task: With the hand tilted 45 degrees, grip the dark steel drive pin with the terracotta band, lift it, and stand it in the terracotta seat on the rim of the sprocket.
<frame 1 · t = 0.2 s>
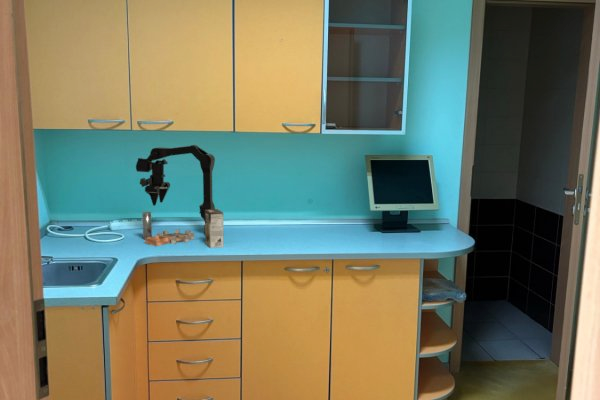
hand: (157, 203, 292), 14 cm above the worktop, tool pointing down, fingers open, 9 cm apart
sprocket: (175, 239, 279), on the worktop
drive pin: (147, 239, 279), on the worktop
coffee box: (214, 245, 268), on the worktop
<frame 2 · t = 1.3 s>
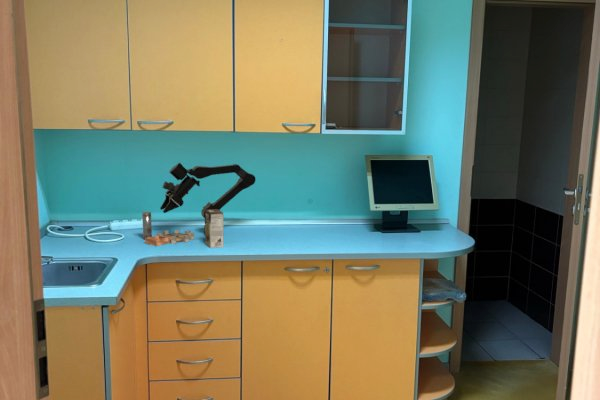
hand: (162, 210, 280), 13 cm above the worktop, tool tilted 45°, fingers open, 9 cm apart
nothing on the worktop moved.
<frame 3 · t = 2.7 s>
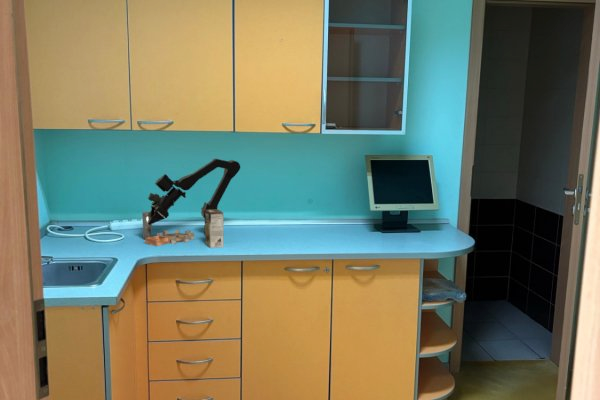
hand: (147, 222, 278), 8 cm above the worktop, tool tilted 45°, fingers open, 9 cm apart
nothing on the worktop moved.
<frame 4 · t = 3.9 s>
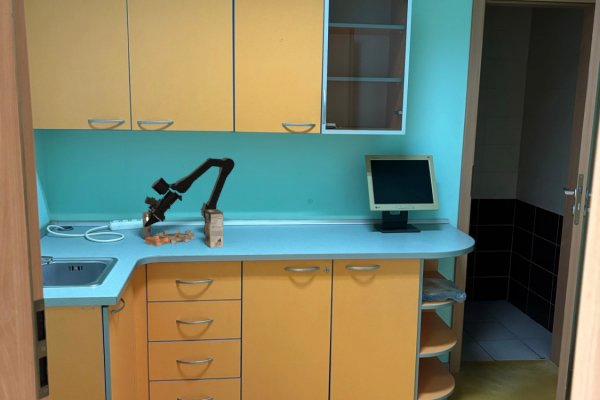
hand: (144, 225, 278), 7 cm above the worktop, tool tilted 45°, fingers closed on drive pin, 4 cm apart
drive pin: (147, 239, 279), on the worktop, touching gripper
everything else where it was.
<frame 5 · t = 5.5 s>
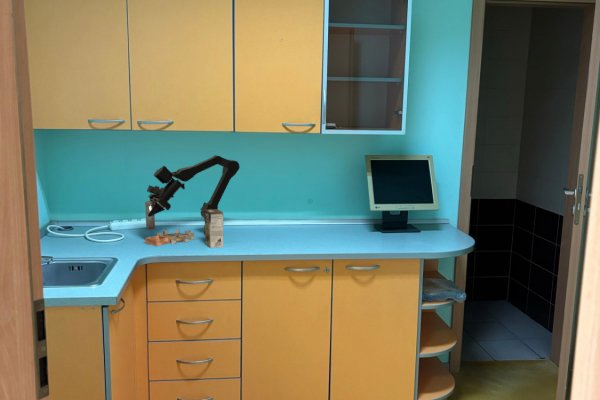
hand: (147, 215, 273), 12 cm above the worktop, tool tilted 45°, fingers closed on drive pin, 4 cm apart
drive pin: (150, 228, 275), point 6 cm above the worktop, touching gripper
everything else where it was.
when the fingers open (8 cm above the worktop, at t = 7.3 s): drive pin drops 1 cm, resting in sprocket.
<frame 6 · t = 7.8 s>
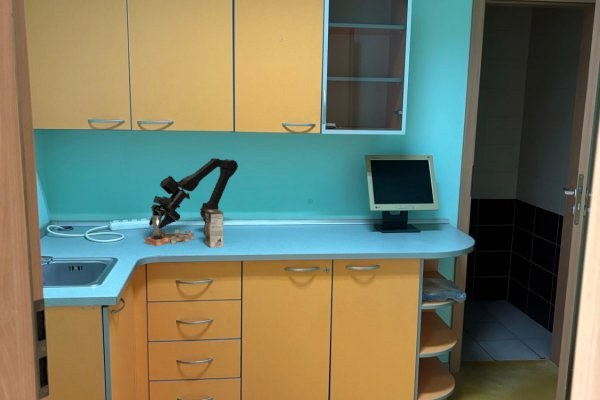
hand: (154, 226, 269), 8 cm above the worktop, tool tilted 45°, fingers open, 9 cm apart
drive pin: (157, 243, 271), resting in sprocket
everything else where it was.
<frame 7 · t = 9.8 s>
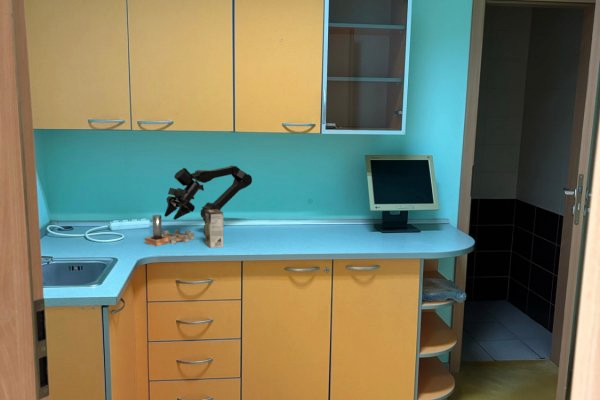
hand: (169, 217, 274), 11 cm above the worktop, tool tilted 45°, fingers open, 9 cm apart
nothing on the worktop moved.
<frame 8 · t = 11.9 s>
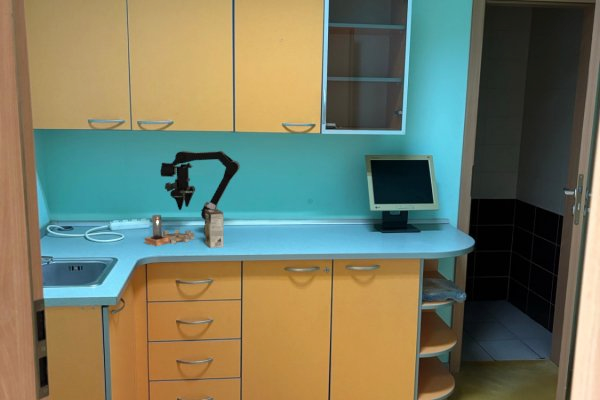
hand: (183, 208, 289), 13 cm above the worktop, tool pointing down, fingers open, 9 cm apart
nothing on the worktop moved.
at the end: drive pin 0.0 cm from the target spot, resting in sprocket; drive pin tilted 0°; the gripper is holding nothing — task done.
